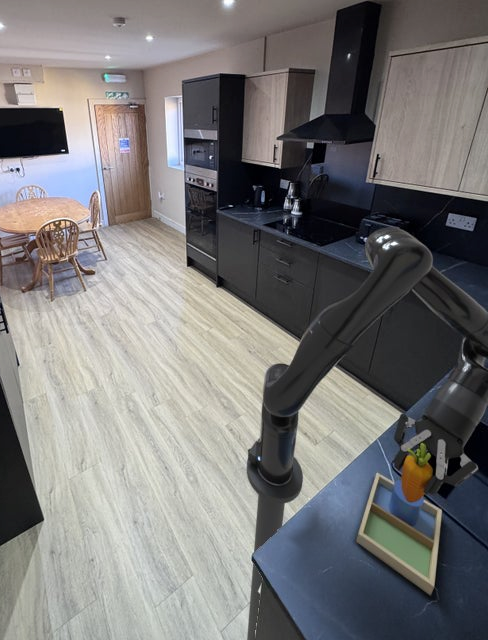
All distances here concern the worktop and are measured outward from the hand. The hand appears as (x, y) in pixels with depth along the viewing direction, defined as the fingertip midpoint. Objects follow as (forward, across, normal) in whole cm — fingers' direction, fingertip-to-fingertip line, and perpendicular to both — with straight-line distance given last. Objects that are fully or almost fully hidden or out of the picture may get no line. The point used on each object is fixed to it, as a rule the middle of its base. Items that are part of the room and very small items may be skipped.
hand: (411, 480), depth 65 cm
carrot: (+4, 0, +7) cm, 8 cm away
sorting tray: (+12, -2, +20) cm, 24 cm away
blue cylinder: (+9, -3, +23) cm, 24 cm away
